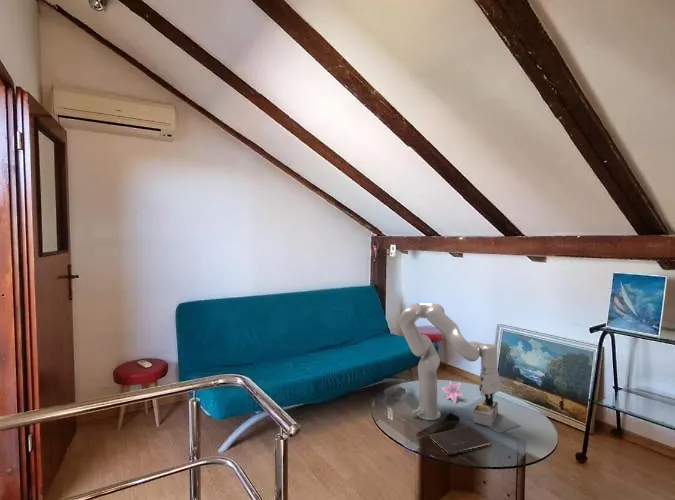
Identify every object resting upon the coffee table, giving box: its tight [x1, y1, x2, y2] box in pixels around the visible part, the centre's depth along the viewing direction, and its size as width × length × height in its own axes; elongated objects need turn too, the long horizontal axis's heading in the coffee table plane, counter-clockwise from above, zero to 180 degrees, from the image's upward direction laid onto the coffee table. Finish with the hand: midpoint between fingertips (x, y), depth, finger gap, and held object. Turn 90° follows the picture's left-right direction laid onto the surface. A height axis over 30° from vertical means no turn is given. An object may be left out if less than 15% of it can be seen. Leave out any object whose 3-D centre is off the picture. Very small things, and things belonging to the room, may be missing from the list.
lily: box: [441, 380, 464, 404], centre depth 222 cm, size 12×12×10 cm
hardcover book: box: [427, 425, 491, 453], centre depth 178 cm, size 16×23×2 cm
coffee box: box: [472, 398, 499, 427], centre depth 198 cm, size 9×6×16 cm
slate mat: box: [484, 412, 522, 434], centre depth 194 cm, size 15×14×1 cm
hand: (489, 404), depth 190 cm, fingers closed
